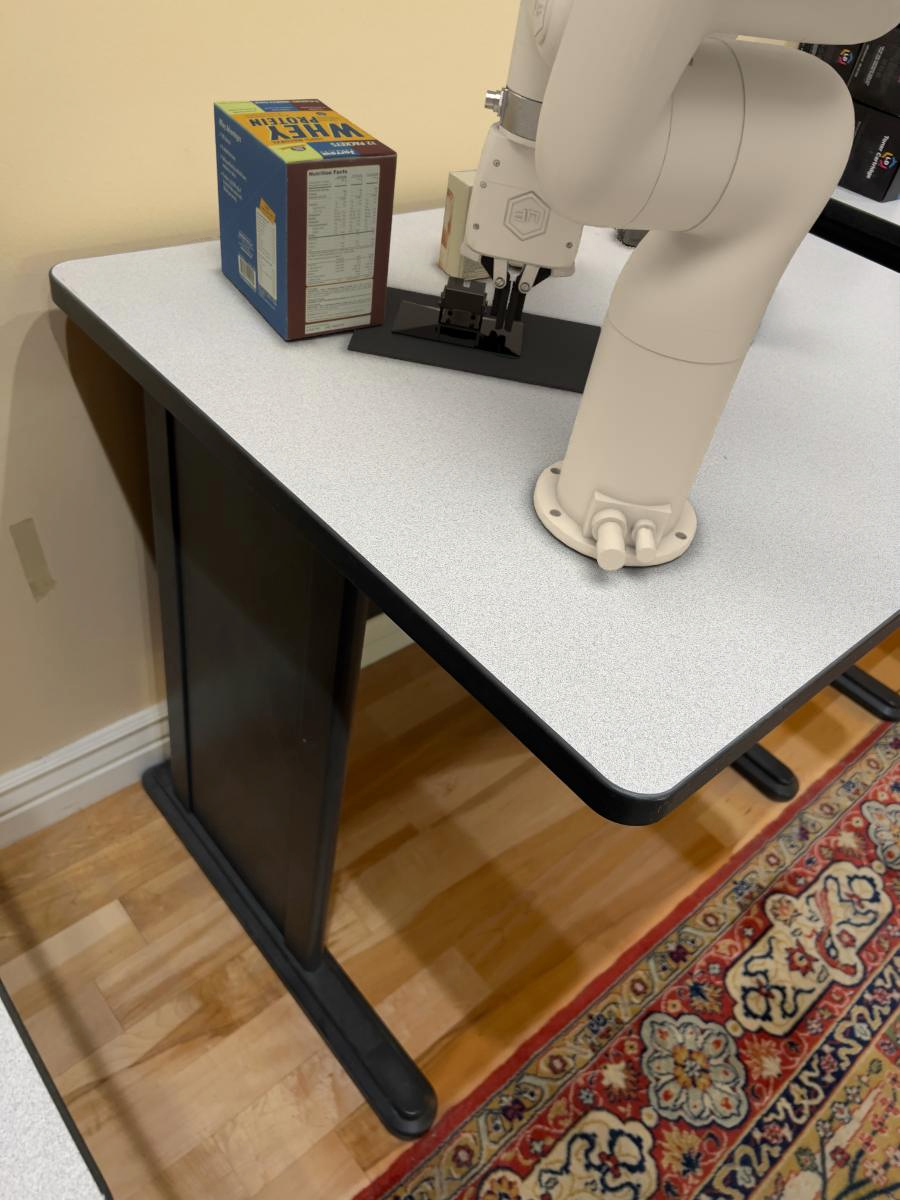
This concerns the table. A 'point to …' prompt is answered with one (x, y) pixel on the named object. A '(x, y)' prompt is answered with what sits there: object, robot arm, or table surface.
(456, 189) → the printed cream carton
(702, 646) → the table surface
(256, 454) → the table surface
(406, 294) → the desk mat
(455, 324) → the build plate
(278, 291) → the protein box
